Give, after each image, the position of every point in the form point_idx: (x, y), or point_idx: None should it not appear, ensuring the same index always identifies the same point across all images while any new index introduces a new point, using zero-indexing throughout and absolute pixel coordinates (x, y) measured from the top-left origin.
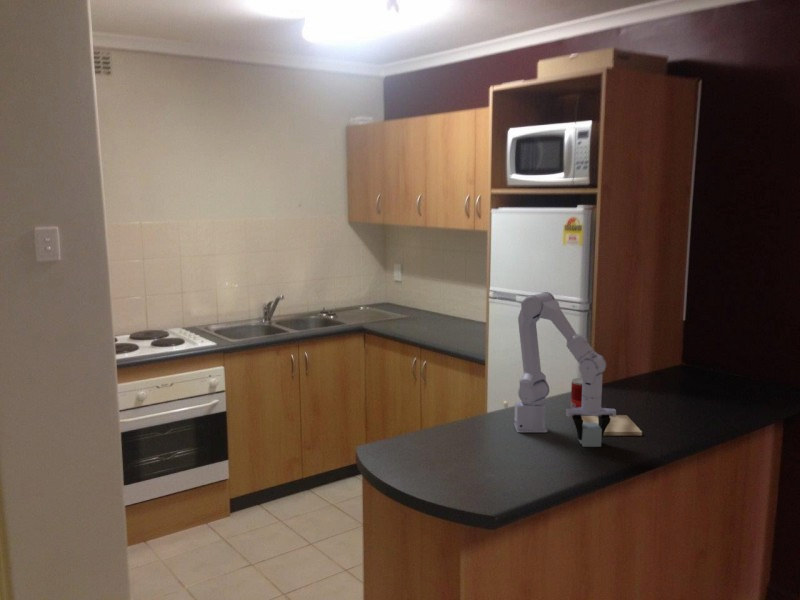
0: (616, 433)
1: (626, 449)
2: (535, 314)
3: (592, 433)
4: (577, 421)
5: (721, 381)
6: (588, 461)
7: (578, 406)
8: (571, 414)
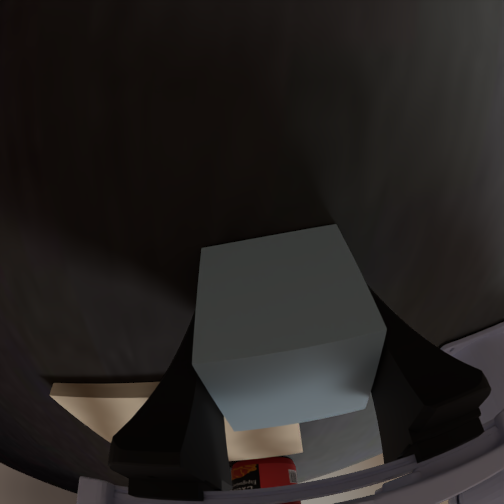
0: (137, 390)
1: (46, 240)
2: None
3: (283, 313)
4: (471, 379)
5: (60, 484)
6: None
7: (280, 477)
8: (491, 433)
